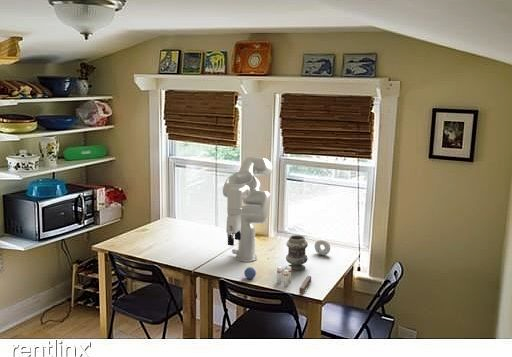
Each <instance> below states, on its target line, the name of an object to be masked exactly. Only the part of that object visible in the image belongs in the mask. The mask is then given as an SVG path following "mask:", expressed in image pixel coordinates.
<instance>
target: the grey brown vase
mask: <svg viewBox="0 0 512 357" xmlns="http://www.w3.org/2000/svg"><path fill="white" fill-rule="evenodd" d="M308 244H309V243H308V241H307V240H306V238H305V236H304V235H300V234H294V235H290V236H289V239H288V240H287V241H286V243H285V245H286V247H287V248H288V254H287V255H286V256H285V260H286V262H287V263H289V264H288V266H290V267H291V272H303V271H305V270H306V266H305V265H304V264H306V263H307V261H308V260H309V259H308V256H307V254H306V249H307V247H308Z"/></svg>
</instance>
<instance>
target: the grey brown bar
mask: <svg viewBox="0 0 512 357" xmlns="http://www.w3.org/2000/svg"><path fill="white" fill-rule="evenodd" d="M310 282H311V283H312V275H307V276H306V277H305V279H304V280H303V282H302V284H301V285H300V286H299V290H298V291H299V293H302V294H301V295H304V294H305V292H306V291H305V290H307V289H308V287H309V286H310V284H311V283H310ZM309 283H310V284H309ZM308 285H309V286H308ZM306 288H307V289H306ZM303 293H304V294H303Z"/></svg>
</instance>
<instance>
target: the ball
mask: <svg viewBox="0 0 512 357" xmlns="http://www.w3.org/2000/svg"><path fill="white" fill-rule="evenodd" d="M256 275H257V272H256V270H255V268H254V267H250V266H249V267H247V268H246V269H245V270H244V276H245V277H246V278H247V279H249V280H251V279H254V278H255V277H256Z"/></svg>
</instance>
